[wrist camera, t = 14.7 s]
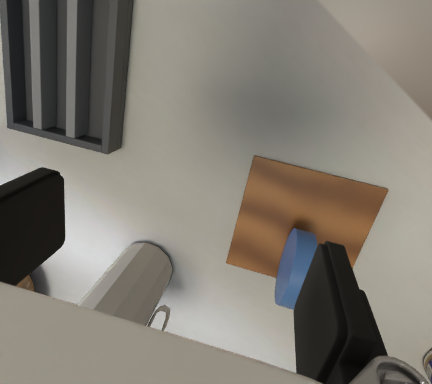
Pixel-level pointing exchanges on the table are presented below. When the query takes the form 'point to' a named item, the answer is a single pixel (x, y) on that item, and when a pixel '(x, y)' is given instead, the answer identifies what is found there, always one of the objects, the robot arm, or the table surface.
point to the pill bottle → (428, 365)
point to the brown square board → (299, 213)
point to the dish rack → (67, 69)
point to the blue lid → (294, 266)
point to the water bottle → (132, 285)
